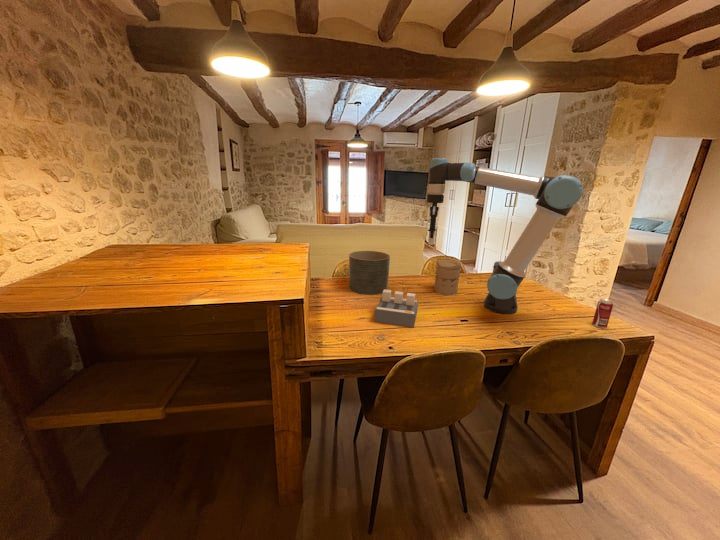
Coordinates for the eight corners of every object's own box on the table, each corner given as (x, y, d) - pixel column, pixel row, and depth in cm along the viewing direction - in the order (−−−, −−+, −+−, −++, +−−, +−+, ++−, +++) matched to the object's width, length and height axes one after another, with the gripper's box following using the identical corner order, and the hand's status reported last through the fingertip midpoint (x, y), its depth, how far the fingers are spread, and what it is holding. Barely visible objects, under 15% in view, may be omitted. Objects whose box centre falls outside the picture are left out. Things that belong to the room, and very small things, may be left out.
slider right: (414, 303, 135) (415, 293, 134) (413, 306, 132) (414, 296, 130) (406, 302, 136) (407, 292, 135) (406, 305, 133) (406, 295, 131)
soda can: (592, 322, 136) (598, 297, 133) (606, 325, 133) (614, 300, 129) (591, 326, 132) (598, 300, 129) (606, 329, 129) (614, 304, 126)
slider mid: (402, 301, 137) (403, 292, 135) (401, 304, 134) (402, 294, 132) (395, 300, 138) (395, 291, 136) (393, 303, 134) (394, 293, 133)
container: (453, 299, 158) (457, 266, 153) (430, 294, 164) (433, 262, 159) (459, 292, 168) (463, 261, 163) (437, 288, 174) (440, 258, 169)
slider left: (390, 299, 139) (391, 290, 137) (389, 302, 135) (390, 292, 134) (383, 298, 139) (384, 289, 138) (382, 301, 136) (382, 291, 135)
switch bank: (417, 312, 140) (418, 299, 139) (413, 327, 126) (415, 313, 124) (381, 307, 144) (382, 295, 143) (374, 321, 130) (375, 308, 128)
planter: (390, 286, 175) (393, 252, 170) (383, 299, 155) (385, 262, 149) (354, 281, 181) (355, 249, 175) (343, 294, 160) (343, 257, 155)
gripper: (427, 193, 144) (423, 241, 151) (426, 194, 132) (422, 246, 139) (443, 193, 142) (438, 242, 149) (444, 194, 130) (438, 247, 137)
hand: (430, 244), depth 144 cm, fingers closed
